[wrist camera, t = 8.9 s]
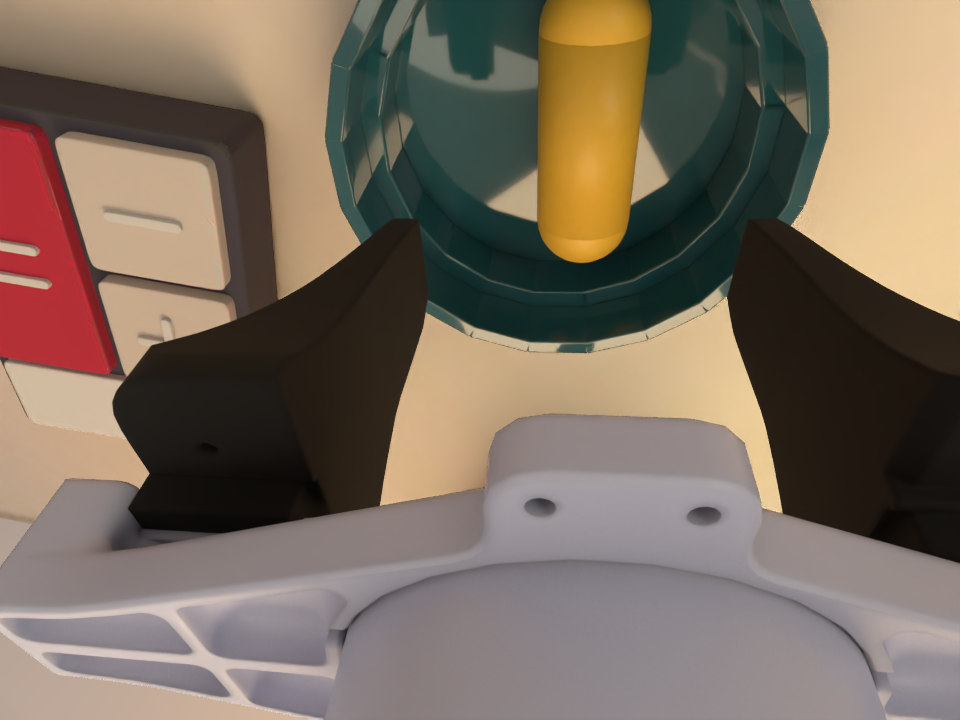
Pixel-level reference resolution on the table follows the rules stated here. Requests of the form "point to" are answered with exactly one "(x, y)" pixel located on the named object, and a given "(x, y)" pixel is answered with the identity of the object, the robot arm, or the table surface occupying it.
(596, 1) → the amber tube
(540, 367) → the table surface
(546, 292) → the teal bowl
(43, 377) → the calculator
